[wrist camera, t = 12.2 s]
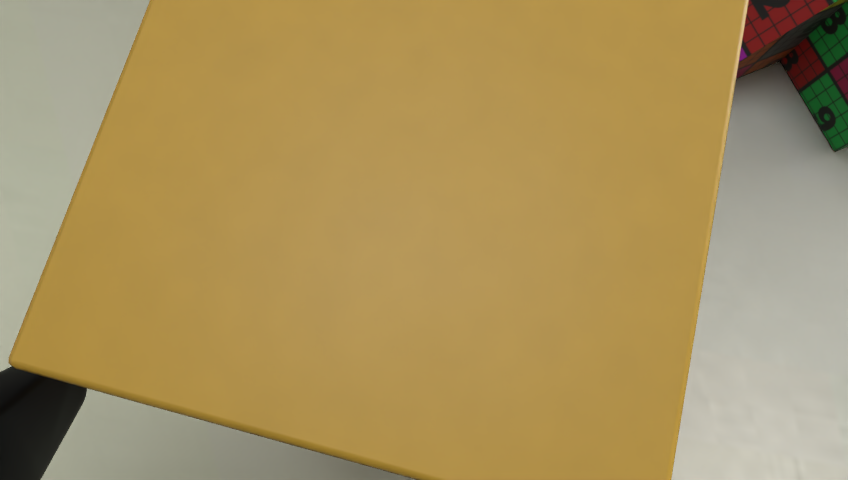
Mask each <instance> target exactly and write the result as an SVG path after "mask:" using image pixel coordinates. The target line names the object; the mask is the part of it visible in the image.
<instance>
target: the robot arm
mask: <svg viewBox="0 0 848 480" xmlns="http://www.w3.org/2000/svg"><path fill="white" fill-rule="evenodd" d="M86 391H87V388H84V387H81V386H77V385H74V384H70V383H66V382H63V381H59V380H56V379H52V378H48V377H45V376H41V375H38V374H34V373H30V372H27V371H23V370H20V369H16V368H14V367H13V366H12V367H10V368H7V369H5V370H3V371H1V372H0V480H40V479H41V478H42V476H43V474H44V472H45V471H46V469H47V467H48V465H49V463H50V462H51V460H52V458H53V456H54V454H55V453H56V451H57V449H58V447H59V445H60V444H61V442H62V440H63V438H64V436H65V435H66V433H67V431H68V429H69V427H70V426H71V424H72V422H73V420H74V418H75V417H76V415H77V413H78V411H79V409H80V408H81V406H82V404H83V402H84V400H85V397H86Z"/></svg>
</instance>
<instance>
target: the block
mask: <svg viewBox="0 0 848 480" xmlns="http://www.w3.org/2000/svg"><path fill="white" fill-rule="evenodd" d="M778 61H781V63H782V64H783V66H784V68H785V69H786V71H787V73H788V74H789V76H790V78H791V79H792V81H793V83H794V84H795V86H796V88H797V89H798V91H799V93H800V95H801V96H802V98H803V100H804V101H805V103H806V105H807V106H808V108H809V110H810V111H811V113H812V115H813V116H814V118H815V120H816V121H817V123H818V125H819V126H820V128H821V130H822V131H823V133H824V135H825V136H826V138H827V140H828V141H829V143H830V145H831V146H832V148H833V150H834V151H838V150H840V149H843V148H845V147H847V146H848V0H749V2H748V8H747V14H746V21H745V27H744V33H743V39H742V45H741V51H740V58H739V64H738V70H737V76H736V78H739V77H741V76H744V75H746V74H749V73H751V72H754V71H756V70H759V69H761V68H764V67H766V66H769V65H771V64H773V63H776V62H778Z"/></svg>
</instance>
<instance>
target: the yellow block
mask: <svg viewBox="0 0 848 480" xmlns="http://www.w3.org/2000/svg"><path fill="white" fill-rule="evenodd" d="M748 2H749V0H150V2H149V5H148V7H147V10H146V12H145V15H144V17H143V20H142V23H141V25H140V28H139V30H138V33H137V35H136V38H135V40H134V43H133V45H132V48H131V50H130V53H129V55H128V58H127V60H126V63H125V65H124V68H123V71H122V73H121V76H120V78H119V81H118V83H117V86H116V88H115V91H114V93H113V96H112V98H111V101H110V103H109V106H108V108H107V111H106V113H105V116H104V119H103V121H102V124H101V126H100V129H99V131H98V134H97V136H96V139H95V141H94V144H93V146H92V149H91V151H90V154H89V156H88V159H87V161H86V164H85V167H84V169H83V172H82V174H81V177H80V179H79V182H78V184H77V187H76V189H75V192H74V194H73V197H72V199H71V202H70V204H69V207H68V209H67V212H66V215H65V217H64V220H63V222H62V225H61V227H60V230H59V232H58V235H57V237H56V240H55V242H54V245H53V247H52V250H51V252H50V255H49V257H48V260H47V263H46V265H45V268H44V270H43V273H42V275H41V278H40V280H39V283H38V285H37V288H36V290H35V293H34V295H33V298H32V300H31V303H30V306H29V308H28V311H27V313H26V316H25V318H24V321H23V323H22V326H21V328H20V331H19V333H18V336H17V338H16V341H15V343H14V346H13V348H12V351H11V354H10V356H9V364H10V365H12V366H13V367H14V368H16V369H20V370H23V371H27V372H30V373H34V374H38V375H41V376H45V377H48V378H52V379H56V380H59V381H63V382H66V383H70V384H74V385H77V386H81V387H84V388H88V389H92V390H95V391H99V392H103V393H106V394H110V395H113V396H117V397H121V398H124V399H128V400H131V401H135V402H139V403H142V404H146V405H149V406H153V407H157V408H160V409H164V410H167V411H171V412H175V413H178V414H182V415H186V416H189V417H193V418H196V419H200V420H204V421H207V422H211V423H214V424H218V425H222V426H225V427H229V428H232V429H236V430H240V431H243V432H247V433H250V434H254V435H258V436H261V437H265V438H269V439H272V440H276V441H279V442H283V443H287V444H290V445H294V446H297V447H301V448H305V449H308V450H312V451H315V452H319V453H323V454H326V455H330V456H333V457H337V458H341V459H344V460H348V461H352V462H355V463H359V464H362V465H366V466H370V467H373V468H377V469H380V470H384V471H388V472H391V473H395V474H398V475H402V476H406V477H409V478H413V479H416V480H671V477H672V471H673V465H674V458H675V452H676V446H677V440H678V434H679V428H680V421H681V415H682V409H683V403H684V397H685V391H686V384H687V378H688V372H689V366H690V360H691V354H692V347H693V341H694V335H695V329H696V323H697V317H698V310H699V304H700V298H701V292H702V286H703V280H704V273H705V267H706V261H707V255H708V249H709V243H710V236H711V230H712V224H713V218H714V212H715V206H716V199H717V193H718V187H719V181H720V175H721V169H722V162H723V156H724V150H725V144H726V138H727V132H728V125H729V119H730V113H731V107H732V101H733V95H734V88H735V82H736V76H737V70H738V64H739V58H740V51H741V45H742V39H743V33H744V27H745V21H746V14H747V8H748Z"/></svg>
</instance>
